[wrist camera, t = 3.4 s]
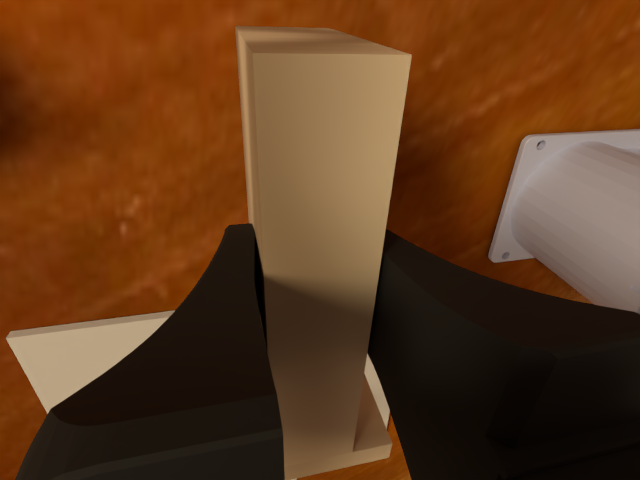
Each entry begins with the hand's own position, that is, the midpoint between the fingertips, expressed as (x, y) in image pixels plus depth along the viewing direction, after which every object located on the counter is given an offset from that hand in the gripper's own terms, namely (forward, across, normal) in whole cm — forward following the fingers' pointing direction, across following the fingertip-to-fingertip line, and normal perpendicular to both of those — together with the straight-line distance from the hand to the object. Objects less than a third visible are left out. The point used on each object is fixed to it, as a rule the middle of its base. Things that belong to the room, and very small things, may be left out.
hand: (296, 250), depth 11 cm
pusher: (+2, 0, 0) cm, 2 cm away
